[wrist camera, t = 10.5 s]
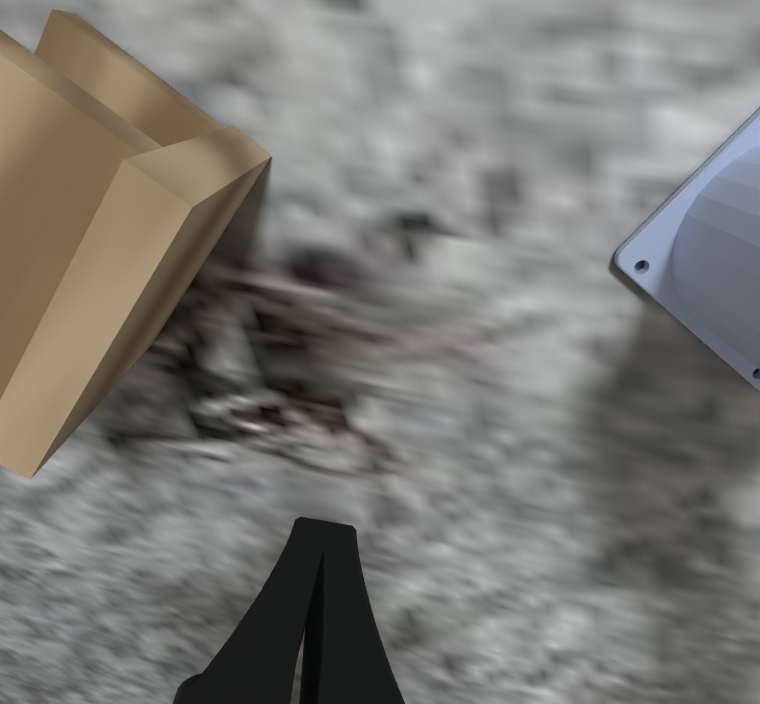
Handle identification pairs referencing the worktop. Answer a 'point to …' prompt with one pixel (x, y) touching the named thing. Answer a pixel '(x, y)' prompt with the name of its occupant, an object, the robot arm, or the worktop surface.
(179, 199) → the tan notched block
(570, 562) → the worktop surface
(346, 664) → the robot arm
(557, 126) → the worktop surface
